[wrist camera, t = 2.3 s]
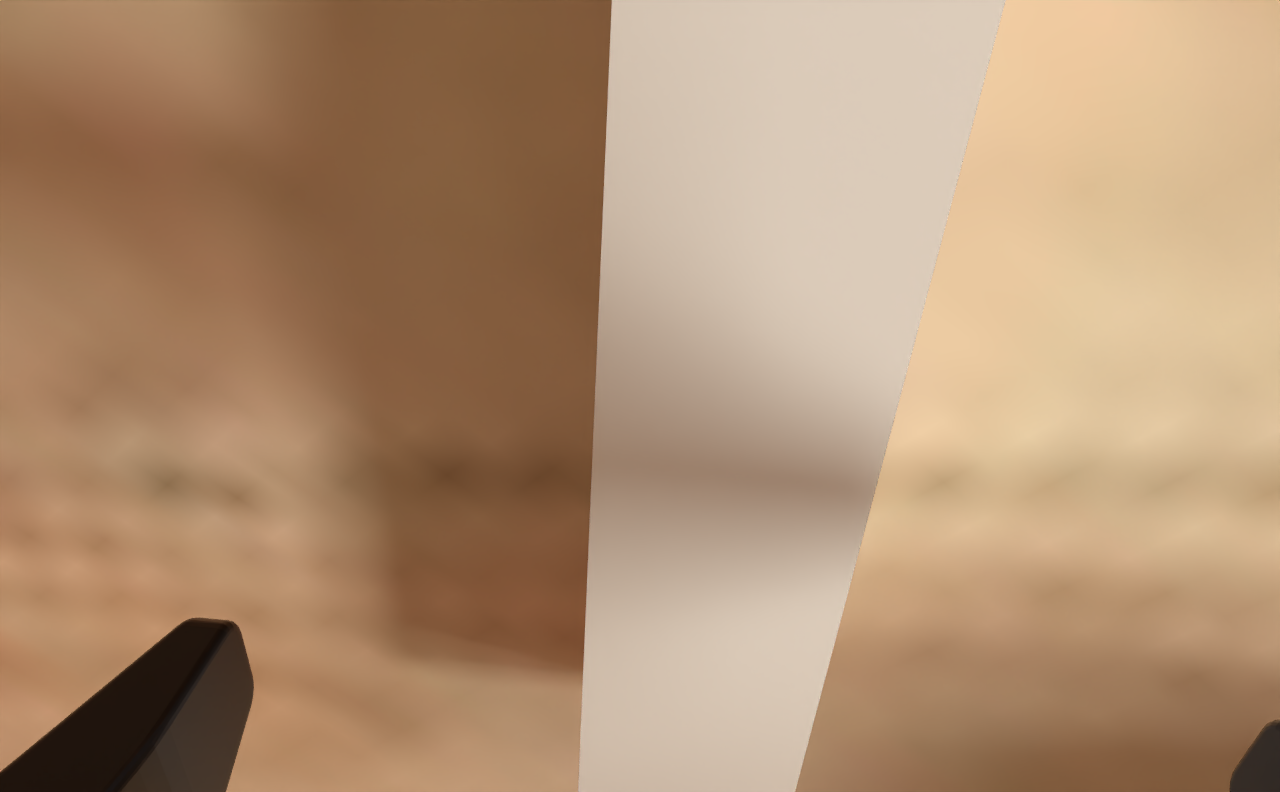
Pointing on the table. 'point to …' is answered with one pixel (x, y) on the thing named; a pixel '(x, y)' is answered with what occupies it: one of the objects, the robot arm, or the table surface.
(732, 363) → the frame bar
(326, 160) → the table surface
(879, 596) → the table surface
